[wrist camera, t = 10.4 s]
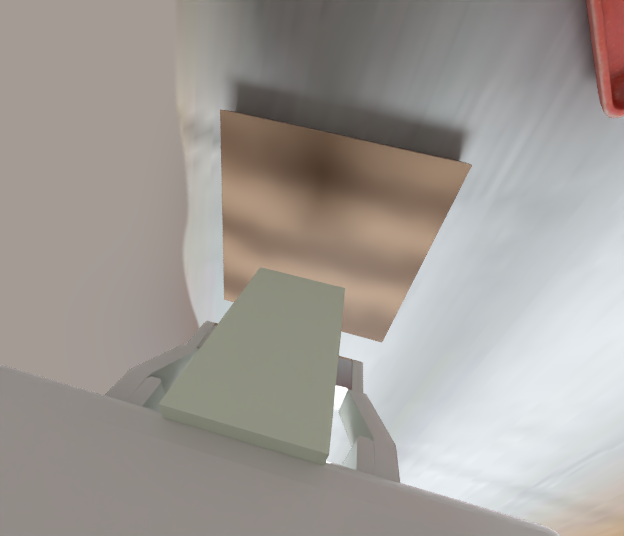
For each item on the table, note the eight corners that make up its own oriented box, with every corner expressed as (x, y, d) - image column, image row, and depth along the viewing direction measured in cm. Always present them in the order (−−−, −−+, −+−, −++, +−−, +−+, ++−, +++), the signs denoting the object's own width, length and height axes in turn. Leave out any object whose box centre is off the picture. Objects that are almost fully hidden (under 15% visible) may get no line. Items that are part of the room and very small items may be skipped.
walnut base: (238, 112, 19) (220, 109, 17) (456, 160, 18) (472, 164, 16) (236, 284, 29) (224, 299, 26) (380, 322, 28) (382, 342, 25)
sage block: (260, 267, 14) (158, 404, 7) (345, 288, 13) (328, 454, 6) (256, 328, 16) (179, 471, 9) (327, 347, 16) (301, 509, 9)
